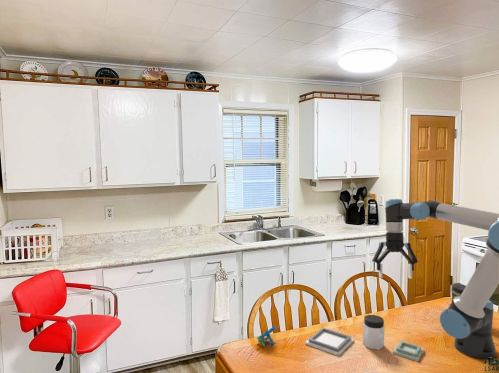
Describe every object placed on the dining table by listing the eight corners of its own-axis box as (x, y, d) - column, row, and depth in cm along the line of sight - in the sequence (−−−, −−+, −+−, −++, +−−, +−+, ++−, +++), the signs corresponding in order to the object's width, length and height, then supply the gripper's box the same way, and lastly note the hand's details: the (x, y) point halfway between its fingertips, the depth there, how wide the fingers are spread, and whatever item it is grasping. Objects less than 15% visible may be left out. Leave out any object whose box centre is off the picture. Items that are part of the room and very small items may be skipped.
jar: (377, 352, 154) (378, 324, 153) (359, 345, 160) (360, 318, 159) (386, 344, 160) (387, 318, 159) (369, 338, 166) (370, 312, 165)
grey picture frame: (353, 340, 164) (354, 336, 163) (339, 356, 151) (339, 351, 151) (321, 330, 173) (321, 326, 173) (305, 343, 161) (305, 339, 160)
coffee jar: (446, 317, 188) (448, 282, 187) (459, 315, 191) (460, 281, 189) (462, 325, 179) (464, 288, 178) (475, 323, 181) (477, 287, 180)
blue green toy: (269, 330, 169) (278, 322, 163) (276, 342, 167) (285, 334, 160) (251, 341, 163) (260, 332, 156) (258, 353, 160) (267, 345, 154)
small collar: (423, 351, 155) (424, 346, 155) (418, 361, 147) (418, 356, 147) (399, 343, 161) (399, 339, 161) (392, 353, 153) (392, 348, 153)
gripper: (417, 232, 174) (418, 277, 172) (365, 231, 174) (366, 276, 172) (424, 232, 166) (426, 279, 164) (370, 231, 167) (371, 278, 165)
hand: (395, 278), depth 168 cm, fingers open, 13 cm apart
